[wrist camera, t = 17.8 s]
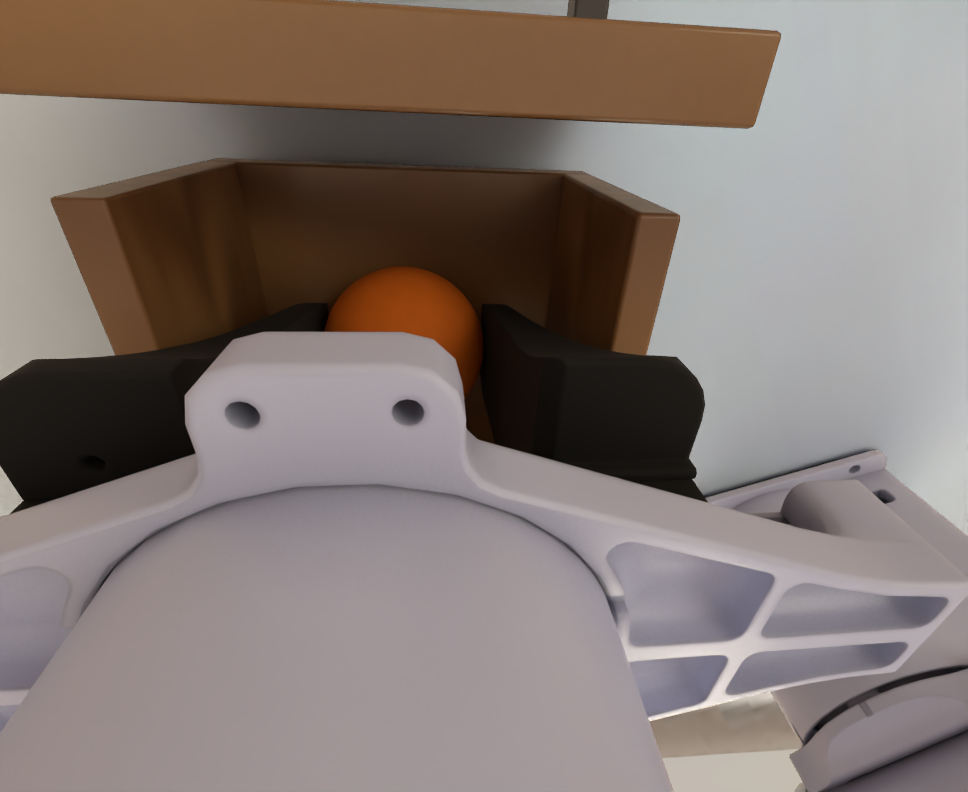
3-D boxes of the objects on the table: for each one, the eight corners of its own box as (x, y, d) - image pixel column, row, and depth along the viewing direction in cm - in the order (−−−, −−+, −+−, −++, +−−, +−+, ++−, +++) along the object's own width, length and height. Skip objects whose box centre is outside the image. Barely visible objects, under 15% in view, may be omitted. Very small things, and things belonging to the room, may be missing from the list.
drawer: (76, -295, 9) (-653, -1107, 3) (667, -222, 10) (1006, -703, 4) (273, 469, 18) (198, 636, 12) (557, 462, 19) (609, 612, 14)
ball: (313, 275, 13) (267, 337, 10) (451, 227, 13) (455, 273, 9) (375, 392, 16) (356, 476, 12) (494, 353, 15) (511, 429, 12)
